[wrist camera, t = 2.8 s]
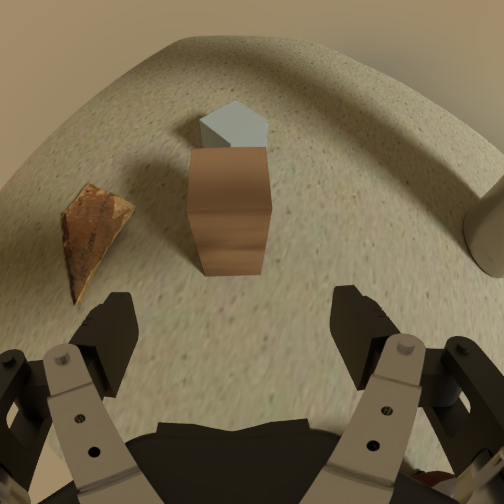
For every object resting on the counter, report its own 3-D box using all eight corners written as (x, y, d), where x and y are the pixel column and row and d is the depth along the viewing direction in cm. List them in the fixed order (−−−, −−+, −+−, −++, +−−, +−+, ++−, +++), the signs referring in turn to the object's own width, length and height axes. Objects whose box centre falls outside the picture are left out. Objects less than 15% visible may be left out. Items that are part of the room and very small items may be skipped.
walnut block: (206, 228, 26) (191, 148, 17) (257, 226, 27) (265, 146, 18) (205, 276, 25) (186, 211, 15) (260, 274, 25) (272, 208, 16)
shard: (81, 310, 23) (72, 304, 22) (33, 273, 24) (23, 267, 23) (141, 212, 28) (136, 201, 26) (88, 189, 29) (82, 179, 27)
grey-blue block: (236, 135, 31) (236, 100, 27) (265, 157, 30) (268, 121, 26) (203, 155, 30) (199, 119, 26) (231, 179, 29) (230, 143, 24)
